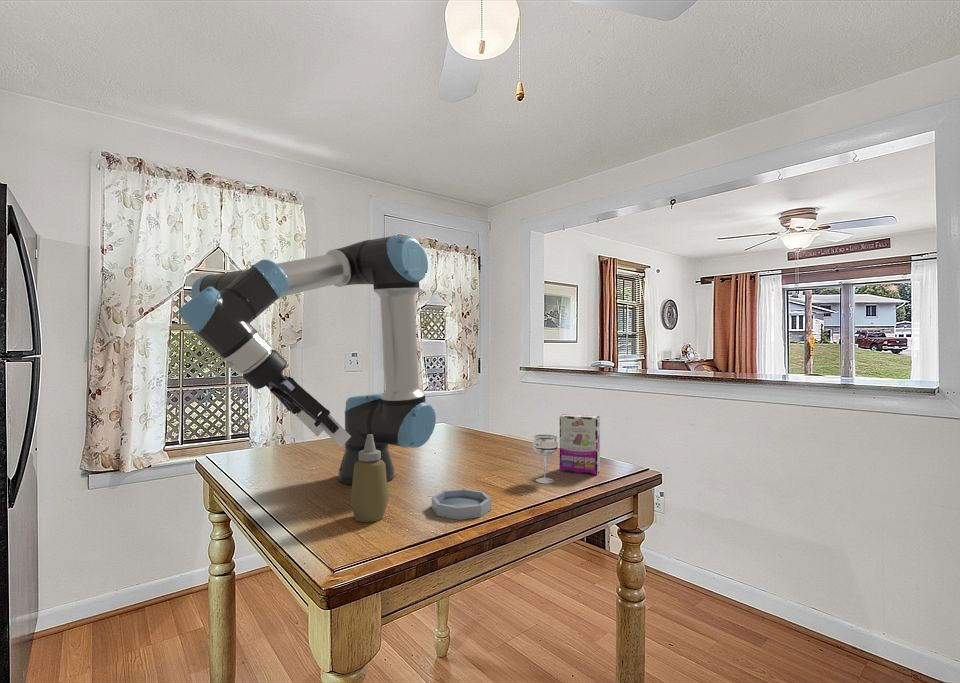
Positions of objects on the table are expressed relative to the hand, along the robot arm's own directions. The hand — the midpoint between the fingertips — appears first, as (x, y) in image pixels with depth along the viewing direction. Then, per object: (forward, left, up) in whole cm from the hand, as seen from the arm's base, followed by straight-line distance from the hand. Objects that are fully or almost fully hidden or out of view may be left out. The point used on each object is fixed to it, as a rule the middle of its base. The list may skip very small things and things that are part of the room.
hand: (333, 436), depth 101 cm
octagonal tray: (+18, +22, -19) cm, 34 cm away
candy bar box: (+34, +66, -19) cm, 77 cm away
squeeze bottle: (+3, +8, -19) cm, 21 cm away
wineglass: (+28, +52, -19) cm, 62 cm away
